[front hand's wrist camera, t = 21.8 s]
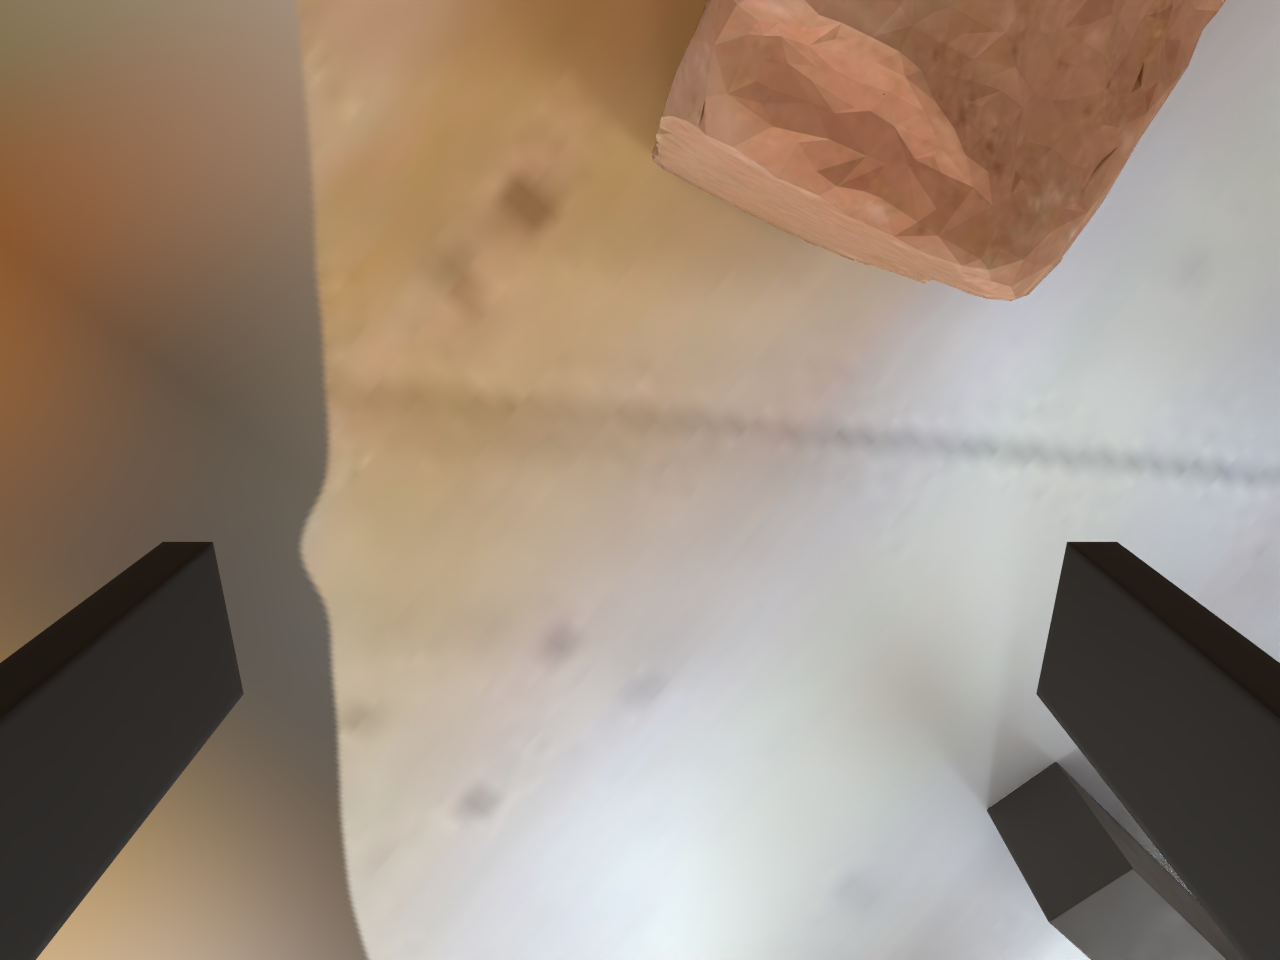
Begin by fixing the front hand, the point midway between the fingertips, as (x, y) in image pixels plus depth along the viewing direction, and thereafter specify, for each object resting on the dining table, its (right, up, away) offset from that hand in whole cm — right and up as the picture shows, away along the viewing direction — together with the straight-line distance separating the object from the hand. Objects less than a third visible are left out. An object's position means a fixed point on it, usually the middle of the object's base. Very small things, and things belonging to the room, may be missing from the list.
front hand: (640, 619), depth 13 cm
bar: (+36, -28, +46) cm, 65 cm away
